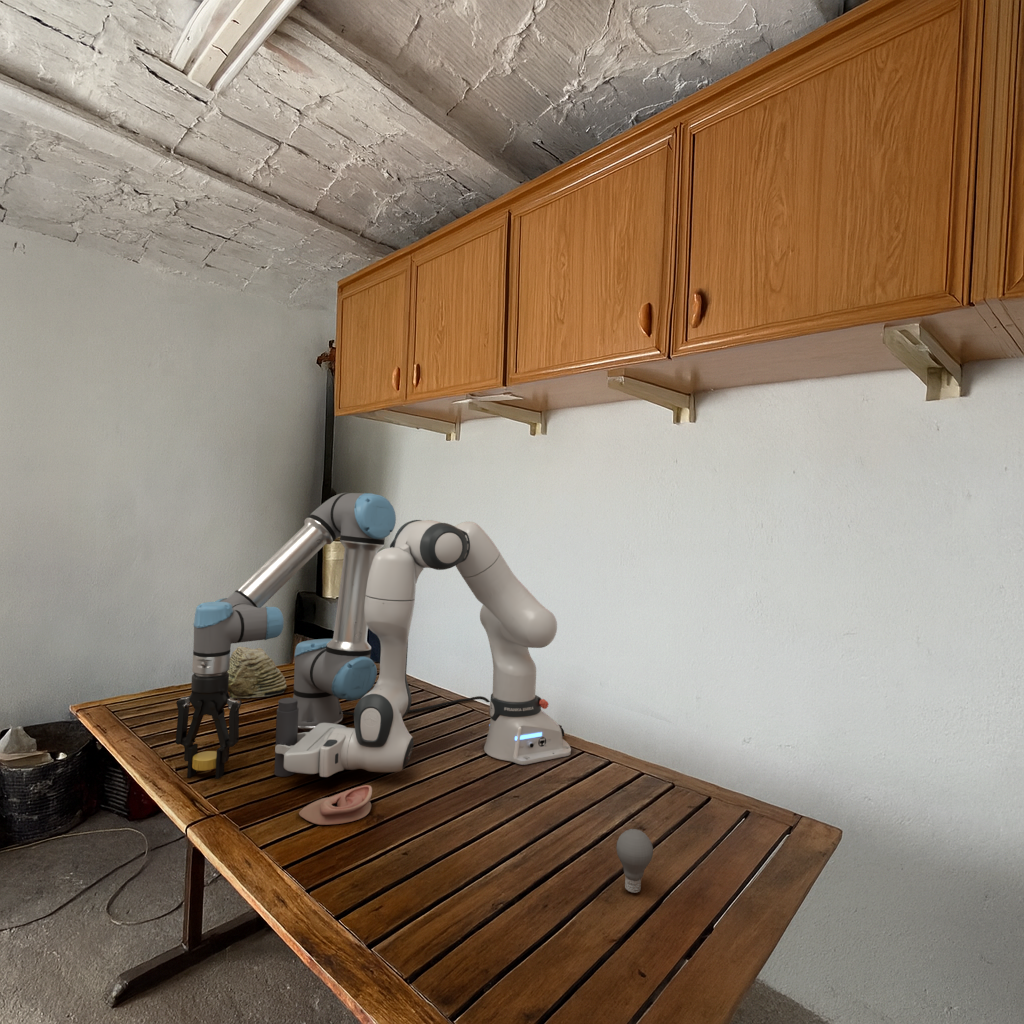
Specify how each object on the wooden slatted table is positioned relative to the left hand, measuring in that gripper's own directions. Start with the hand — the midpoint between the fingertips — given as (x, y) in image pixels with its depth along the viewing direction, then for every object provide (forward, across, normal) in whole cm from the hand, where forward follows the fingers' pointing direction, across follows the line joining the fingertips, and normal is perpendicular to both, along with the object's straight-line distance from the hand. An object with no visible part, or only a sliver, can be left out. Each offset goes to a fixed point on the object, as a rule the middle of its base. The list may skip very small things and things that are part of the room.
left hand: (205, 775), depth 141 cm
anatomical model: (0, +33, -14) cm, 36 cm away
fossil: (0, -11, +57) cm, 58 cm away
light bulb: (-1, +88, -37) cm, 95 cm away
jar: (0, +17, +3) cm, 17 cm away
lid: (-4, 0, 0) cm, 4 cm away
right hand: (-7, +16, +3) cm, 17 cm away
